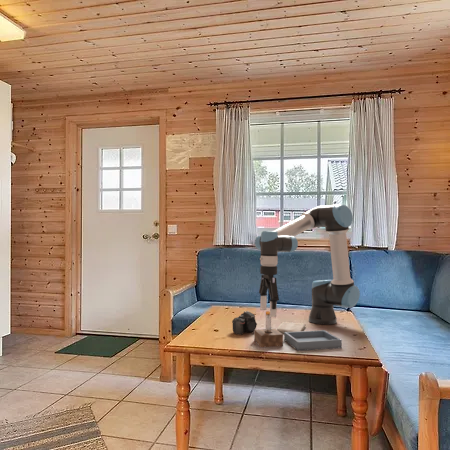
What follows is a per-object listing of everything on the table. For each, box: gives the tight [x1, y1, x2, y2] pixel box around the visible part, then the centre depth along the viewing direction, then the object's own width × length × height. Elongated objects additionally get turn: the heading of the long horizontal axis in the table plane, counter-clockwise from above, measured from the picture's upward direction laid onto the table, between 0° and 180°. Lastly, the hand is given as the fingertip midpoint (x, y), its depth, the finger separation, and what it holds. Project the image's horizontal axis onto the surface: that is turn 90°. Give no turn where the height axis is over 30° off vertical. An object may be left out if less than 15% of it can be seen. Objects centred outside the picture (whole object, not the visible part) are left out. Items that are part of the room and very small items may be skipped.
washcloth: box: [276, 321, 307, 335], centre depth 188 cm, size 12×18×3 cm, turn 159°
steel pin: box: [265, 310, 272, 333], centre depth 165 cm, size 2×2×14 cm
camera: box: [231, 310, 258, 336], centre depth 183 cm, size 13×10×10 cm
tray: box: [283, 329, 343, 352], centre depth 164 cm, size 20×16×4 cm
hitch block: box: [253, 328, 284, 348], centre depth 164 cm, size 10×10×5 cm
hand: (268, 313), depth 165 cm, fingers open, 13 cm apart
